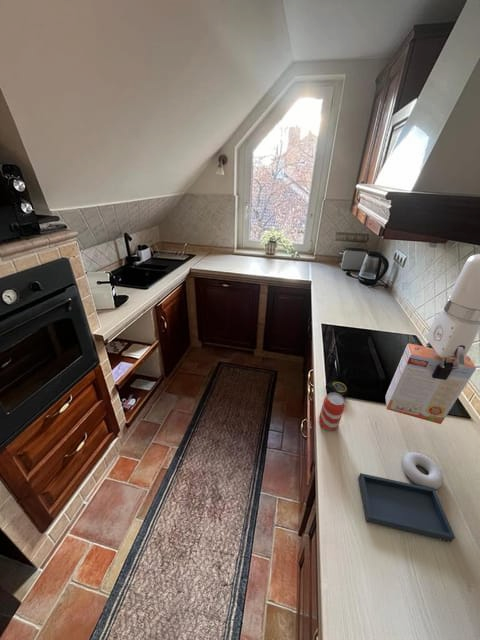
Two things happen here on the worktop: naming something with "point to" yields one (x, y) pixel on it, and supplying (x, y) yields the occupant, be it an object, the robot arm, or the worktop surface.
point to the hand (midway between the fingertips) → (432, 368)
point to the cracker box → (425, 385)
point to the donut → (434, 472)
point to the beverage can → (331, 411)
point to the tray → (404, 507)
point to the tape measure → (337, 388)
